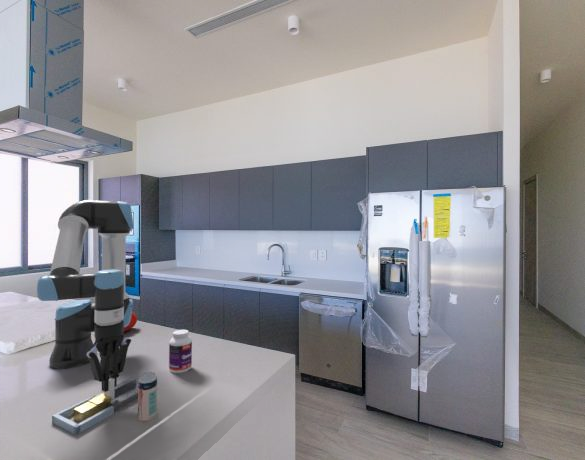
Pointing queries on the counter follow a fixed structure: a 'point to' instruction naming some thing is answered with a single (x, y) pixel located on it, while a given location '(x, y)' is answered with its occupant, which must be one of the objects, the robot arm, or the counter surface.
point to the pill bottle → (180, 352)
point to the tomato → (131, 322)
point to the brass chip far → (101, 402)
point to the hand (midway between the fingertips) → (109, 399)
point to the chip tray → (77, 428)
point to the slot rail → (124, 393)
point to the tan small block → (85, 411)
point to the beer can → (147, 396)
